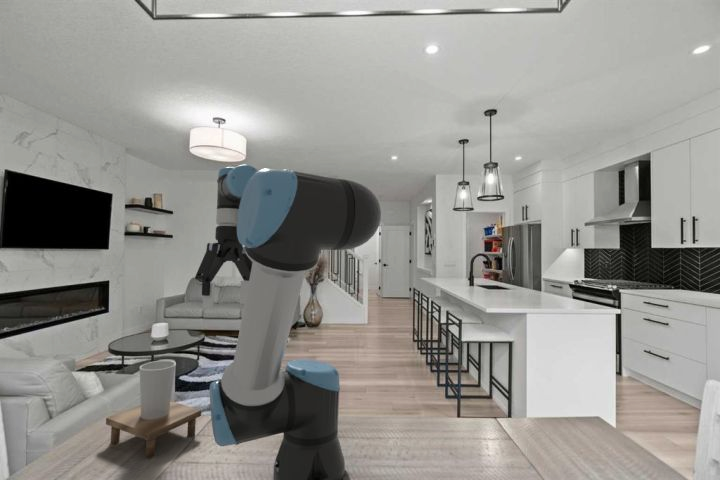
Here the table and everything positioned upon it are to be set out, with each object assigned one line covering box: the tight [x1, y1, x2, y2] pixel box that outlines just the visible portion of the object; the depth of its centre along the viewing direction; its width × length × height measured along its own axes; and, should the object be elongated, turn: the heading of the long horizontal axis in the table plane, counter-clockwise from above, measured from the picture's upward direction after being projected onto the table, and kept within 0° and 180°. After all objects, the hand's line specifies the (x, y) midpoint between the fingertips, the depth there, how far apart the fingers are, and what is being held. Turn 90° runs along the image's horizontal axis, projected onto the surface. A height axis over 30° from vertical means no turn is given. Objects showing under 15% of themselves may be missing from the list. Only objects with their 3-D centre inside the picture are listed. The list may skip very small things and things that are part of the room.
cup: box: [139, 360, 177, 420], centre depth 89 cm, size 8×8×12 cm
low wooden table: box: [105, 400, 202, 459], centre depth 89 cm, size 16×14×6 cm
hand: (227, 306), depth 93 cm, fingers open, 13 cm apart
